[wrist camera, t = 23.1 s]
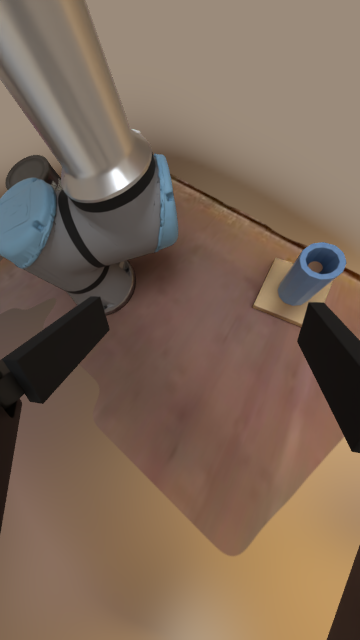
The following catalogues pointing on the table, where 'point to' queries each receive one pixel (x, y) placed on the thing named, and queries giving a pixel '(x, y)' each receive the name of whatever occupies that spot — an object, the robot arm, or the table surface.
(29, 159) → the coffee can
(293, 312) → the stand
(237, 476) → the table surface
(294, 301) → the blue hollow tube
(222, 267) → the table surface
